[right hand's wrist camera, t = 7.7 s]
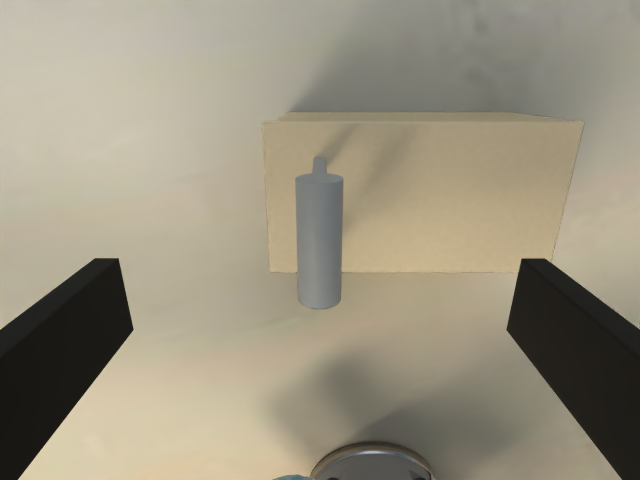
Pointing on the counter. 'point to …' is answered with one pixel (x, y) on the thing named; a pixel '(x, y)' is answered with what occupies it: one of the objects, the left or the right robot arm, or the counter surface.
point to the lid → (412, 197)
